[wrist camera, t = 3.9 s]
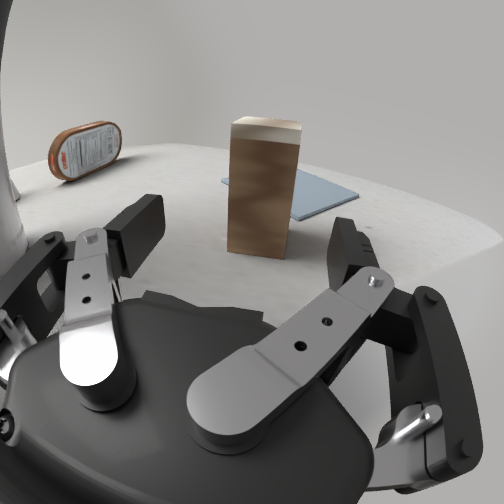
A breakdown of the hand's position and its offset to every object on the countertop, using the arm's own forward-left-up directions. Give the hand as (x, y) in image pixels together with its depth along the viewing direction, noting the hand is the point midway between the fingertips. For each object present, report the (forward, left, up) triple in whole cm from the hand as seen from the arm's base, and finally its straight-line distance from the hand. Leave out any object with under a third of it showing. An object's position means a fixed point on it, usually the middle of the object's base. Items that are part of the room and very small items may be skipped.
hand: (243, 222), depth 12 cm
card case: (+5, +8, -7) cm, 11 cm away
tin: (-14, +36, -7) cm, 39 cm away
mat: (+14, +19, -7) cm, 24 cm away
